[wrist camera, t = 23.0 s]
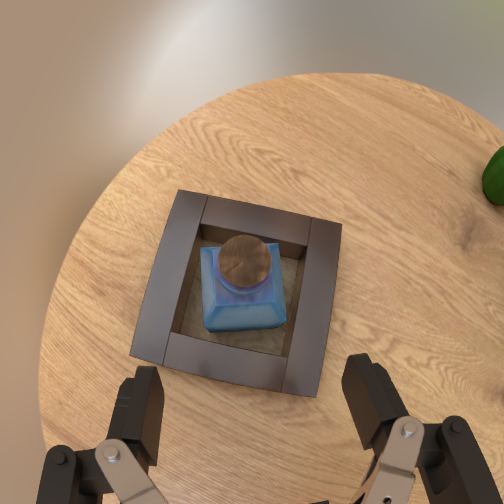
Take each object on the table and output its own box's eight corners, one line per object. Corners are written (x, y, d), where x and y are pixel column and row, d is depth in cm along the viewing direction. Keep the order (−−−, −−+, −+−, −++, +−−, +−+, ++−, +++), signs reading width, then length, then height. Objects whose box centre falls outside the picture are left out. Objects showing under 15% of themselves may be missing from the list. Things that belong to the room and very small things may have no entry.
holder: (142, 356, 27) (129, 355, 23) (184, 208, 32) (178, 189, 28) (305, 392, 27) (316, 397, 23) (330, 239, 32) (342, 223, 28)
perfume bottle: (276, 328, 29) (303, 308, 17) (210, 332, 28) (193, 316, 17) (269, 265, 31) (290, 210, 19) (206, 269, 30) (190, 215, 19)
